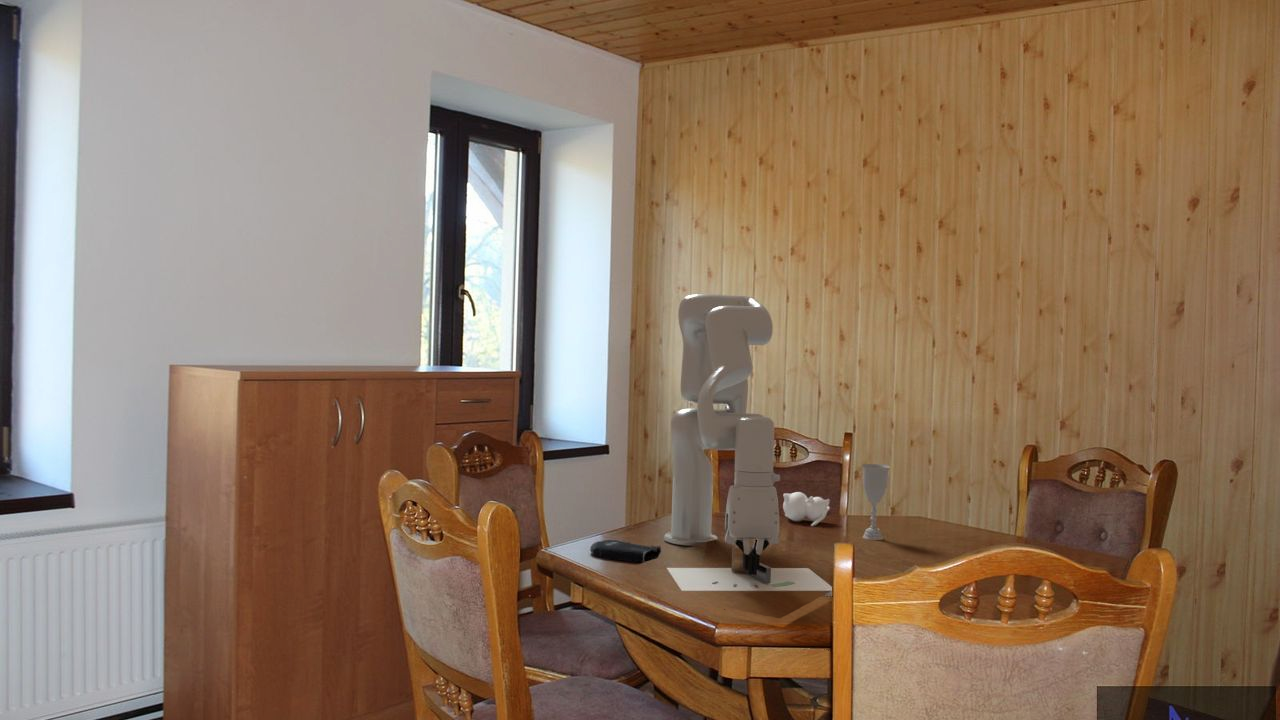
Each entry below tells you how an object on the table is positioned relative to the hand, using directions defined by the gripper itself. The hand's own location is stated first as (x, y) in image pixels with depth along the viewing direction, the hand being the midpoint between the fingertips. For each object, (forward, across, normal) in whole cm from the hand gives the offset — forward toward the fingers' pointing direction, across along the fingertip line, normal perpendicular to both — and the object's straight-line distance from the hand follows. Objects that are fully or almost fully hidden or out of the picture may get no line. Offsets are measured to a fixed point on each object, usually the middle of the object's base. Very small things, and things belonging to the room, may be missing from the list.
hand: (750, 573), depth 197 cm
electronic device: (+3, +22, -27) cm, 35 cm away
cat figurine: (+2, -30, -69) cm, 76 cm away
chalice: (+2, -42, -49) cm, 65 cm away
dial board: (+3, 0, -3) cm, 4 cm away
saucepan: (+1, -1, -4) cm, 4 cm away
